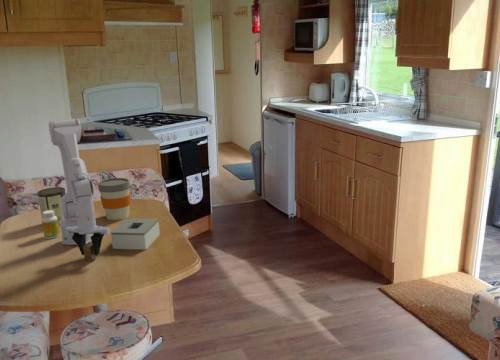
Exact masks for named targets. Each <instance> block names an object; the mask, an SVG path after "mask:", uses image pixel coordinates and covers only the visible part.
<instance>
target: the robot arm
mask: <svg viewBox="0 0 500 360" xmlns="http://www.w3.org/2000/svg"><path fill="white" fill-rule="evenodd" d="M48 131H49V135H50V141H51V143H52V145H53V146H57V147H58V149H59V152H60V156H61V163H62V167H63V172H64V174H63V175H64V178H65V184H66V185H65V186H66V192H65V195H64V196H63V197H62V198H61V209H62V214H63V218H64V219H63V220H62V222H61V227H60V231H61V235H62V236H61V238H62V242H61V245H63V246H64V245H69V246H70V245H72V246H74V245H75V246H77V247H78V250H79V251H80V254H81V256H84V250H83V246H84V245H85V244H87V243H88V242H92V243H93V247H94V254H95V255H99V254H100V253H101V245H102V241H103V238H104V236H107V235H109V234H111V232H110V231H111V230H110V227H108V226H101V225H97V222H96V214H95V207H94V197H93V196H94V191H95V188H94V184H93V180H92V178H91V177H90V175H89V174H88V170H87V166H86V163H85V160H83V159H82V158H80V152H79V146H78V143H79V142H80V140H81V136H82V132H83V131H82V125H81V122H80V120H79V118H73V119H64V120H63V119H62V120H50V121H49V122H48Z"/></svg>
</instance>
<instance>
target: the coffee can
mask: <svg viewBox="0 0 500 360" xmlns="http://www.w3.org/2000/svg"><path fill="white" fill-rule="evenodd" d="M36 193H37V197H38V203H39V209H40V210H39V211H40V214H41V219H42V218H44V217H43V212H44V211H48V210H53V211H54V214H55V215H54V216H56V217H57V220H58V226H59V228H61V222H62V220H63V219H64V218H63V214H62V209H61V198H62V197H63V196H64V195H65V194H66V188H64V187H60V186H55V187H48V188H43V189H40V190H38V191H37V192H36Z"/></svg>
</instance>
